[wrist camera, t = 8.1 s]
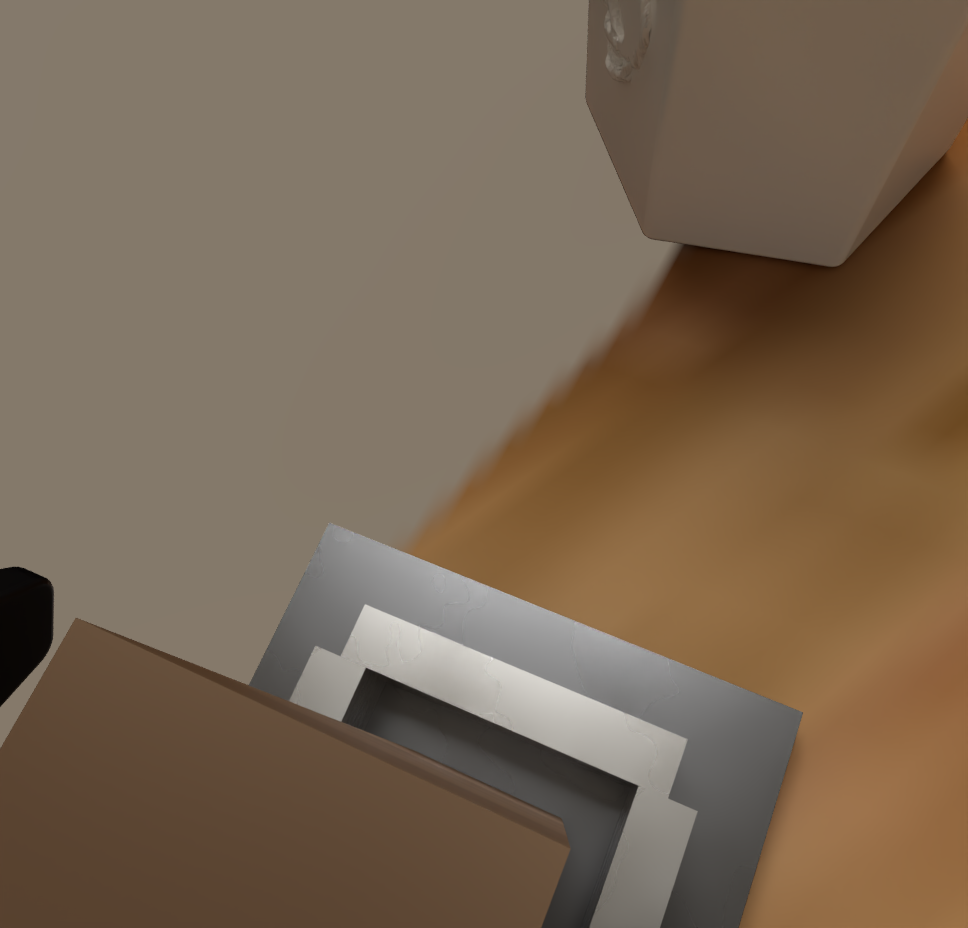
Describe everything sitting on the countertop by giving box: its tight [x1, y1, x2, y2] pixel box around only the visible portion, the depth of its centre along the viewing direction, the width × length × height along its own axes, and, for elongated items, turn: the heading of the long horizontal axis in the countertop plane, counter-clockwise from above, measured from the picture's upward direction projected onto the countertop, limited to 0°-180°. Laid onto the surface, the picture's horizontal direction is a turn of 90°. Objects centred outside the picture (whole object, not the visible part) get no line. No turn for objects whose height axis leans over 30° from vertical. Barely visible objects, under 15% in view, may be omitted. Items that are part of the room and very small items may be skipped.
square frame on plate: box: [249, 523, 803, 928], centre depth 16 cm, size 10×10×3 cm
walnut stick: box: [0, 618, 571, 928], centre depth 10 cm, size 3×3×13 cm
